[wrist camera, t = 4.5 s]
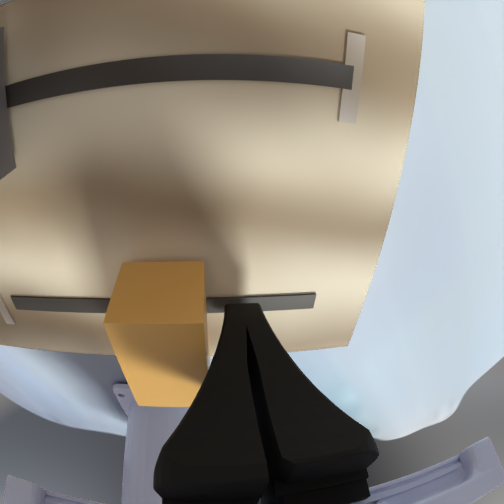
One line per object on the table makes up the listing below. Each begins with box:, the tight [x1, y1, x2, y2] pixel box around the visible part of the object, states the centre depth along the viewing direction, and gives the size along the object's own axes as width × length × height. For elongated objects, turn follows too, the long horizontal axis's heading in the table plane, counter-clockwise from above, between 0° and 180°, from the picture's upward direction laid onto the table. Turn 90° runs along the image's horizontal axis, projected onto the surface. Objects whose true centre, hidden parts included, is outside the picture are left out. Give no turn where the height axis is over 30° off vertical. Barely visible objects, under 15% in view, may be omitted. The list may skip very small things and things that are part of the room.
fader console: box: [0, 0, 425, 356], centre depth 11 cm, size 16×26×2 cm, turn 87°
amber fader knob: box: [103, 261, 210, 407], centre depth 11 cm, size 5×3×3 cm, turn 177°
